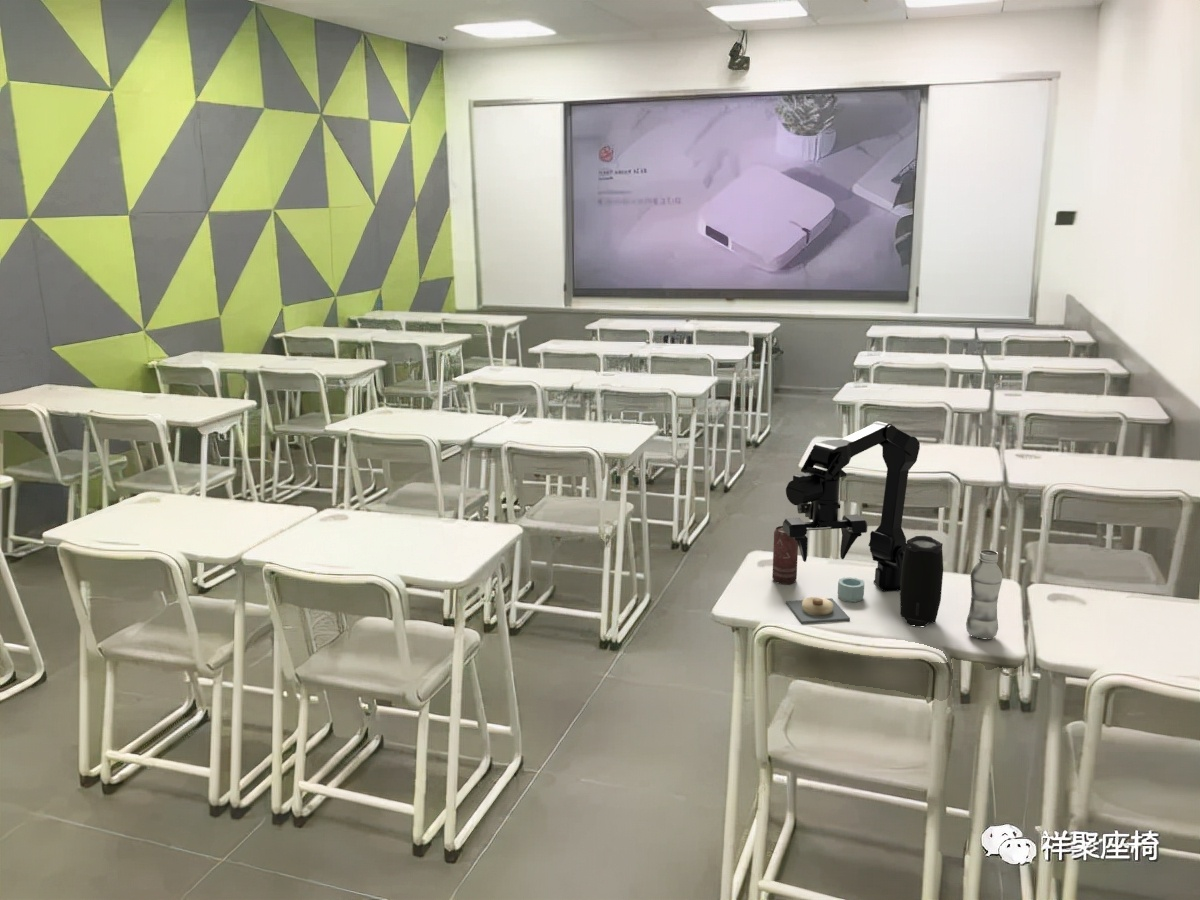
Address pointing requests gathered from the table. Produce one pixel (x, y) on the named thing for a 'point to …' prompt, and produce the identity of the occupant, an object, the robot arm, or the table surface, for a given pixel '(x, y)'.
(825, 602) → the lid
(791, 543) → the can
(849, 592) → the bowl
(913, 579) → the portable speaker
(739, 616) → the table surface
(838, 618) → the mat
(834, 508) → the robot arm
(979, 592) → the plastic bottle
